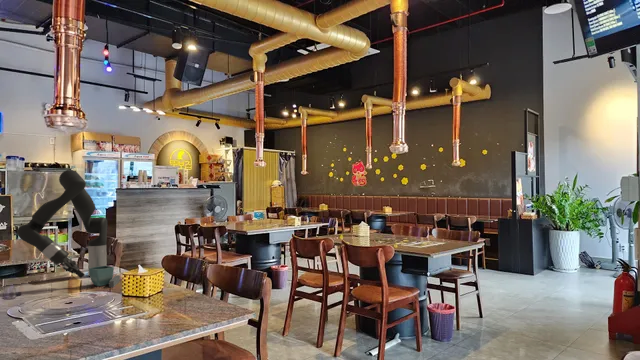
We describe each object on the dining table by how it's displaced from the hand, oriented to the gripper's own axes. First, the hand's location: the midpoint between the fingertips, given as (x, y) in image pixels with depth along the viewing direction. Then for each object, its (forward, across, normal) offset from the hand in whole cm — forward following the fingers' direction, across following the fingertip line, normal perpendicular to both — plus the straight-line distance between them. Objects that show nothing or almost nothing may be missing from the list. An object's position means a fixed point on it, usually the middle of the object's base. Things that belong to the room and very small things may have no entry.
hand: (83, 276), depth 208 cm
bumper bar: (+14, 0, +7) cm, 15 cm away
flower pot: (+10, 0, +2) cm, 10 cm away
